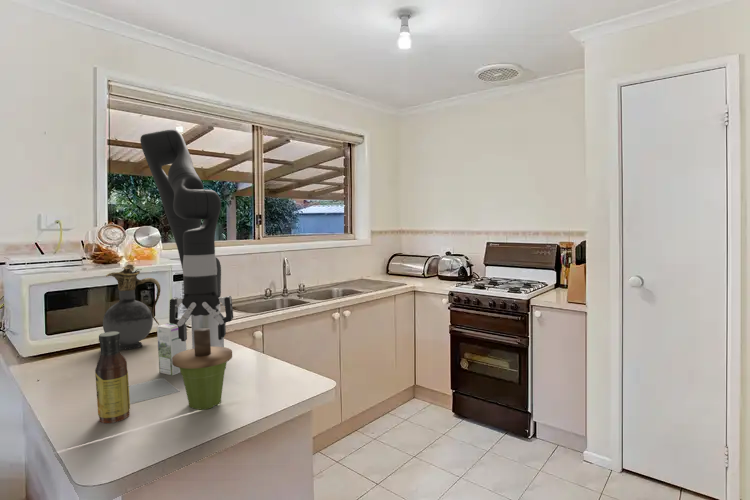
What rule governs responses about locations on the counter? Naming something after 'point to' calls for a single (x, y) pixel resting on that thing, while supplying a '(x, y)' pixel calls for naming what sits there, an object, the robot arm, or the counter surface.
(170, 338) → the syrup box
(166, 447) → the counter surface
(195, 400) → the plant pot
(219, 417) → the counter surface
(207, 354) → the walnut lid
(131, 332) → the pitcher
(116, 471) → the counter surface
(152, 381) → the rubber mat
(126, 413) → the sauce bottle
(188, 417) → the counter surface
